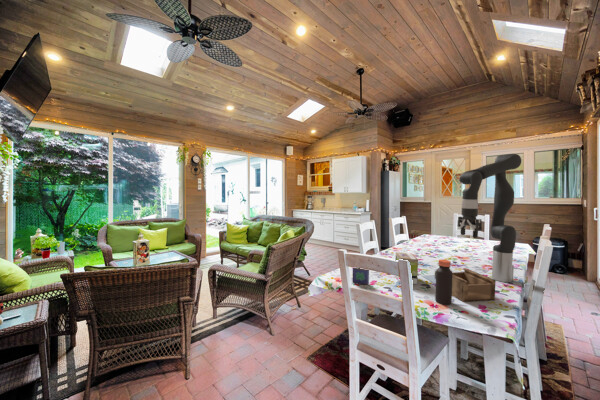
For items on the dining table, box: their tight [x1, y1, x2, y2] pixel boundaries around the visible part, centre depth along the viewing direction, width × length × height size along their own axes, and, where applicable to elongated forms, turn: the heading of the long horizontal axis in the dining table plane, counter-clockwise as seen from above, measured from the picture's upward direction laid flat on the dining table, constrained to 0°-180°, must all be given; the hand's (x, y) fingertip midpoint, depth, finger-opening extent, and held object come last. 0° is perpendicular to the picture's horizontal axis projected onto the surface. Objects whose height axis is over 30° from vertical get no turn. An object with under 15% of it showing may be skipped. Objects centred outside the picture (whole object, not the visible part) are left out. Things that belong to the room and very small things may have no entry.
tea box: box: [395, 252, 419, 285], centre depth 148 cm, size 15×10×15 cm
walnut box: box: [452, 268, 497, 303], centre depth 129 cm, size 18×17×10 cm
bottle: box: [434, 259, 453, 306], centre depth 118 cm, size 7×7×20 cm
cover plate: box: [421, 270, 436, 285], centre depth 148 cm, size 14×14×6 cm
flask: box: [351, 267, 370, 286], centre depth 141 cm, size 9×3×11 cm, turn 68°
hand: (468, 236), depth 139 cm, fingers open, 8 cm apart
